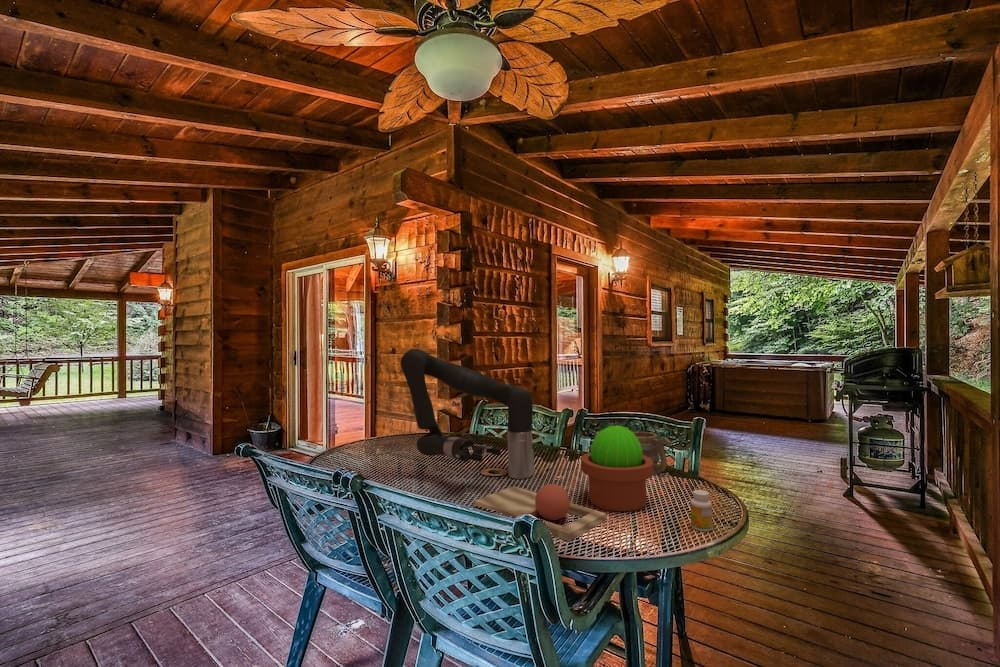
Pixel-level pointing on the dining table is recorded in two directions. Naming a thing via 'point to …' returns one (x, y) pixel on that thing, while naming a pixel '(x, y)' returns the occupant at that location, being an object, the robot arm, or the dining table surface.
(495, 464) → the dining table surface
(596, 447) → the potted cactus
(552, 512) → the ball
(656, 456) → the tankard
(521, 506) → the board
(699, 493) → the supplement bottle
